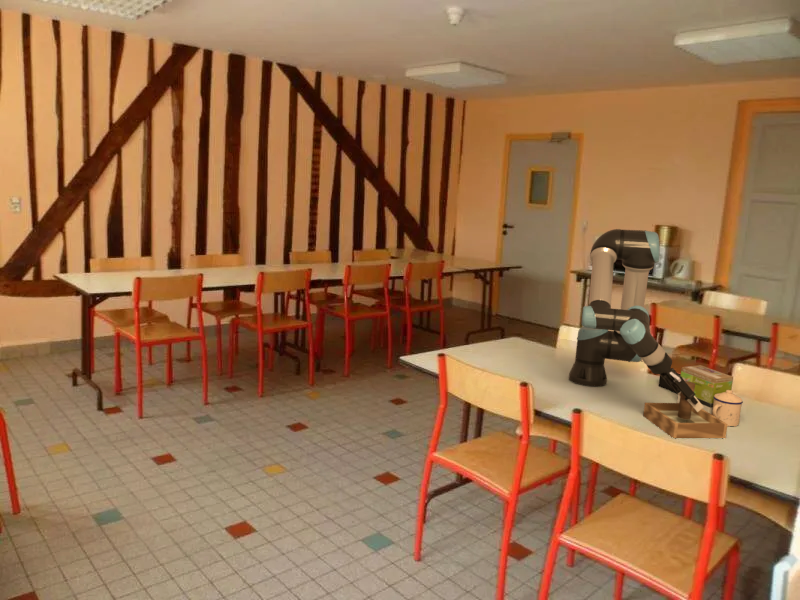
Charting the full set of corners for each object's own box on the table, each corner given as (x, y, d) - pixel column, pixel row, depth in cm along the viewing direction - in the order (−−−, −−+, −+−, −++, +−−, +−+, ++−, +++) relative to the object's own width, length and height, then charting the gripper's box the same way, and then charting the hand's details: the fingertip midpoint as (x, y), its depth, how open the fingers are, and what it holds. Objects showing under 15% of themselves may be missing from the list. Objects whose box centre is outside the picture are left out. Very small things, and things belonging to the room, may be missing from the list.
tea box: (675, 403, 236) (680, 366, 234) (695, 401, 240) (700, 364, 238) (709, 417, 223) (714, 377, 220) (728, 414, 227) (734, 375, 224)
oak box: (643, 416, 221) (644, 402, 220) (691, 416, 223) (692, 403, 222) (673, 438, 201) (675, 423, 200) (725, 438, 203) (727, 424, 202)
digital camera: (688, 393, 250) (690, 376, 249) (678, 394, 248) (680, 377, 247) (668, 385, 259) (670, 369, 258) (658, 386, 257) (660, 370, 256)
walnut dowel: (675, 414, 213) (679, 381, 211) (686, 414, 213) (690, 381, 211) (681, 419, 209) (686, 384, 207) (692, 419, 209) (697, 385, 207)
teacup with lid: (720, 416, 225) (724, 385, 223) (744, 424, 217) (749, 392, 215) (699, 421, 219) (704, 389, 216) (724, 430, 211) (729, 397, 209)
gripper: (635, 359, 215) (674, 405, 219) (660, 373, 198) (702, 423, 203) (651, 344, 214) (690, 391, 219) (678, 357, 198) (719, 408, 202)
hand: (696, 406), depth 211 cm, fingers closed on walnut dowel, 4 cm apart
